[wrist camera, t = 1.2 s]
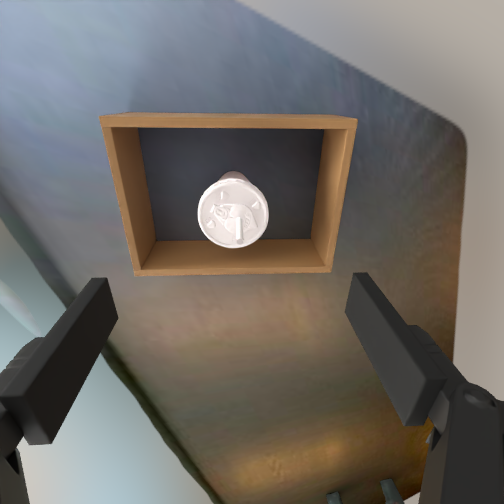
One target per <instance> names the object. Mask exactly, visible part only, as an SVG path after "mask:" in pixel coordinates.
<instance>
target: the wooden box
mask: <svg viewBox="0 0 504 504" xmlns="http://www.w3.org/2000/svg"><path fill="white" fill-rule="evenodd" d="M99 119H100V124H101V127H102V132H103V136H104V141H105V145H106V150H107V154H108V158H109V163H110V167H111V172H112V176H113V181H114V185H115V189H116V194H117V198H118V203H119V207H120V212H121V216H122V220H123V225H124V229H125V234H126V238H127V243H128V247H129V251H130V256H131V260H132V265H133V269H134V274H135V276H168V275H218V274H269V273H320V272H331V270H332V264H333V258H334V252H335V247H336V241H337V235H338V230H339V224H340V218H341V213H342V207H343V201H344V196H345V190H346V185H347V179H348V173H349V168H350V162H351V156H352V151H353V145H354V139H355V134H356V129H357V123H358V119H355V118H349V117H343V116H338V115H318V114H232V113H146V112H126V113H119V114H112V115H104V116H99ZM138 127H168V128H282V129H324V135H323V143H322V151H321V159H320V166H319V174H318V182H317V190H316V198H315V206H314V214H313V222H312V230H311V238H310V239H263V240H256V241H255V242H253V243H252V244H250V245H247V246H244V247H240V248H227V247H223V246H220V245H217V244H216V243H214V242H212V241H211V240H186V241H157V240H156V234H155V228H154V222H153V216H152V210H151V204H150V198H149V192H148V187H147V181H146V175H145V169H144V163H143V157H142V151H141V145H140V139H139V133H138Z"/></svg>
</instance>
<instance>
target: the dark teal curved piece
mask: <svg viewBox="0 0 504 504" xmlns="http://www.w3.org/2000/svg"><path fill="white" fill-rule="evenodd" d="M380 484H381V486H382V489H383V492H384V495H385V498H386V504H404V502H403V500H402V498H401V496H400V494H399V492H398V490H397V488H396V486H395V484H394V482H393V480H392V479H387V480H382V481H380ZM327 501H328V504H343V503H342V501H341V498H340V495H339V494H338V492H335V493H332V494H327Z"/></svg>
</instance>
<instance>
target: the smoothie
mask: <svg viewBox="0 0 504 504" xmlns="http://www.w3.org/2000/svg"><path fill="white" fill-rule="evenodd" d="M268 218H269V212H268V206H267V201H266V199H265V197H264V195H263V194H262V192H261V191H260V190H259V189H258V188H257V187H256V186H254V185H253V184H251V183H250V182H249V181H248V179H247V178H246V177H245V176H244V175H243V174H242V173H240V172H237V171H230V172H227V173H225V174H224V175H223V176H222V177H221V178H220V179H219V180H218V182H216V183H215V184H213V185H211V186H210V187H209V188H208V189H207V190H206V191H205V192H204V194H203V195H202V197H201V199H200V202H199V206H198V221H199V225H200V227H201V229H202V231H203V233H204V234H205V235H206V236H207V237H208V238H209V239H210V240H211V241H212V242H214V243H216V244H217V245H220V246H223V247H227V248H240V247H244V246H247V245H250V244H252V243H253V242H255V241H256V240H257V239H258V238H259V237H260V236H261V235H262V234H263V232H264V231H265V229H266V227H267V224H268Z"/></svg>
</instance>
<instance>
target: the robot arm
mask: <svg viewBox="0 0 504 504" xmlns="http://www.w3.org/2000/svg"><path fill="white" fill-rule="evenodd" d="M345 313H346V315H347V317H348V319H349V321H350V323H351V325H352V327H353V329H354V331H355V333H356V335H357V336H358V338H359V340H360V342H361V344H362V346H363V348H364V350H365V352H366V354H367V356H368V358H369V360H370V361H371V363H372V365H373V367H374V369H375V371H376V373H377V375H378V377H379V379H380V381H381V383H382V385H383V386H384V388H385V390H386V392H387V394H388V396H389V398H390V400H391V402H392V404H393V406H394V408H395V410H396V411H397V413H398V415H399V417H400V419H401V421H402V423H403V425H404V426H418V425H424V423H425V421H426V419H427V417H428V416H429V418H430V419H431V421H432V423H433V424H434V427H433V429H432V431H431V433H430V435H429V436H428V438H427V440H426V442H427V443H428V444H429V448H428V454H427V459H426V465H425V470H424V476H423V481H422V487H421V492H420V498H419V503H418V504H504V401H500V400H497V399H496V398H495V397H494V396H493V395H492V394H490V393H489V392H488V391H487V390H485V389H483V388H482V387H480V386H478V385H475V384H472V383H469V382H468V381H467V380H466V379H465V378H464V376H462V374H461V373H460V372H459V371H458V369H457V368H456V367H455V366H454V364H453V363H452V362H451V361H450V360H449V358H448V357H447V356H446V355H445V353H443V352H442V350H441V349H440V347H439V346H438V345H436V343H435V341H434V340H433V339H432V338H431V337H430V335H429V334H428V333H427V332H425V331H424V330H423V329H421V328H420V327H418V326H417V325H407V324H406V323H405V321H404V320H403V319H402V317H401V316H400V315H399V314H398V312H397V311H396V310H395V308H394V307H393V306H392V304H391V303H390V302H389V301H388V299H387V298H386V297H385V295H384V294H383V293H382V291H381V290H380V289H379V287H378V286H377V285H376V284H375V282H374V281H373V280H372V278H371V277H370V276H369V274H368V273H353V277H352V281H351V286H350V290H349V295H348V299H347V304H346V309H345ZM117 320H118V315H117V311H116V308H115V304H114V301H113V297H112V293H111V290H110V286H109V283H108V279H107V278H91V280H90V281H89V282H88V283H87V285H86V286H85V287H84V289H83V290H82V291H81V292H80V294H79V295H78V296H77V297H76V299H75V300H74V301H73V302H72V304H71V305H70V306H69V307H68V309H67V310H66V311H65V313H64V314H63V315H62V316H61V317H60V319H59V320H58V321H57V322H56V324H55V325H54V326H53V327H52V329H51V330H50V331H49V333H48V334H47V335H46V336H45V337H38V338H35V339H33V340H32V341H30V342H29V343H28V344H26V345H25V346H24V347H23V348H22V349H21V350H20V351H19V352H18V353H17V355H16V356H15V357H14V359H13V360H12V361H10V363H9V364H8V365H7V366H6V369H4V370H3V371H2V372H1V373H0V504H30V503H29V498H28V493H27V488H26V483H25V478H24V473H23V468H22V463H21V457H20V453H19V451H18V449H17V448H16V447H17V445H18V444H19V442H20V441H21V439H22V437H23V436H24V438H25V439H26V441H27V442H28V444H29V445H43V444H52V442H53V440H54V438H55V437H56V435H57V433H58V431H59V429H60V427H61V425H62V423H63V422H64V420H65V418H66V416H67V414H68V412H69V410H70V408H71V407H72V405H73V403H74V401H75V399H76V397H77V395H78V393H79V391H80V390H81V388H82V386H83V384H84V382H85V380H86V378H87V376H88V374H89V373H90V371H91V369H92V367H93V365H94V363H95V361H96V359H97V358H98V356H99V354H100V352H101V350H102V348H103V346H104V344H105V342H106V341H107V339H108V337H109V335H110V333H111V331H112V329H113V327H114V326H115V324H116V322H117Z"/></svg>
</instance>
